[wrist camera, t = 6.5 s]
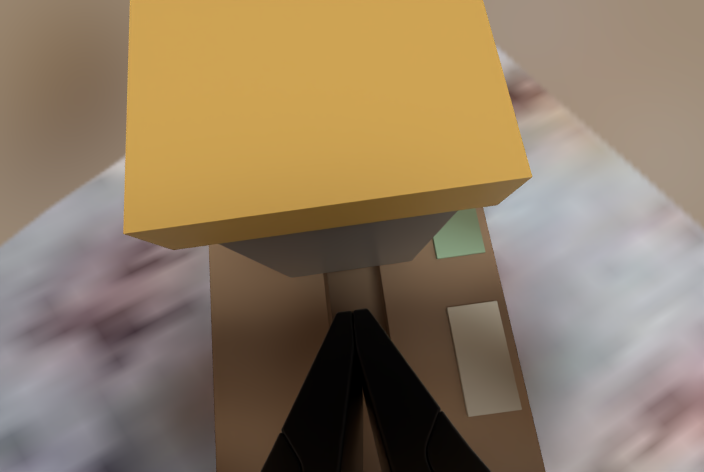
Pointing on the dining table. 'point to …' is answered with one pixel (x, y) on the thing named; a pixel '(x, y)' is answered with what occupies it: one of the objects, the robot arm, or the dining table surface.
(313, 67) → the switch handle
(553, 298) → the dining table surface
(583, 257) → the dining table surface
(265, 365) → the wooden slotted board
